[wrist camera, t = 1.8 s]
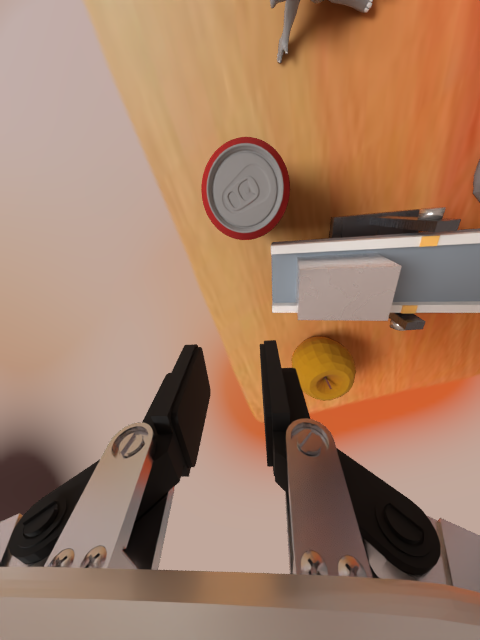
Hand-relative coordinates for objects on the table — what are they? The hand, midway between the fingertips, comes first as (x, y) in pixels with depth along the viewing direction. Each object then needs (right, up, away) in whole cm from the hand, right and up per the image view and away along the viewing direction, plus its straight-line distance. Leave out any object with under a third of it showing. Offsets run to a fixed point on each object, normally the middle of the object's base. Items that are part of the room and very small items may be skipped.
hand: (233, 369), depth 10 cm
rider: (+10, +7, +11) cm, 16 cm away
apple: (+12, -2, +25) cm, 27 cm away
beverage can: (+1, +17, +15) cm, 23 cm away
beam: (+17, +7, +11) cm, 21 cm away
